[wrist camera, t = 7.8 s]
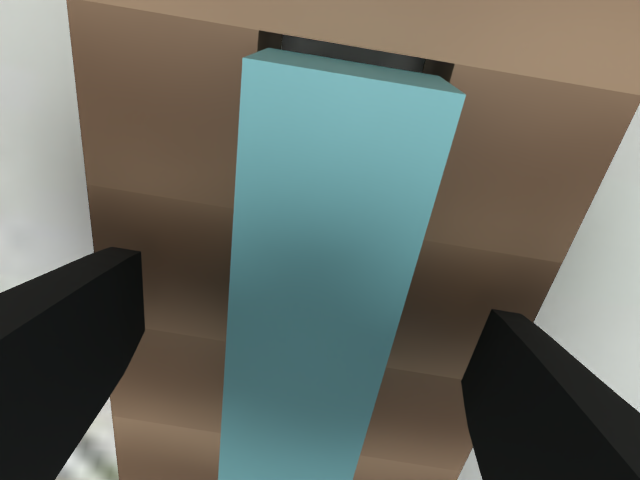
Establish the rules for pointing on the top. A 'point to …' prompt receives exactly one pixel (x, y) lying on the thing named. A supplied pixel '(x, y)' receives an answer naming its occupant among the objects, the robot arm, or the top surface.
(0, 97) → the top surface
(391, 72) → the teal bridge block
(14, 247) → the top surface
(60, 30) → the top surface
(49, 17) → the top surface
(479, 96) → the brown wooden board
